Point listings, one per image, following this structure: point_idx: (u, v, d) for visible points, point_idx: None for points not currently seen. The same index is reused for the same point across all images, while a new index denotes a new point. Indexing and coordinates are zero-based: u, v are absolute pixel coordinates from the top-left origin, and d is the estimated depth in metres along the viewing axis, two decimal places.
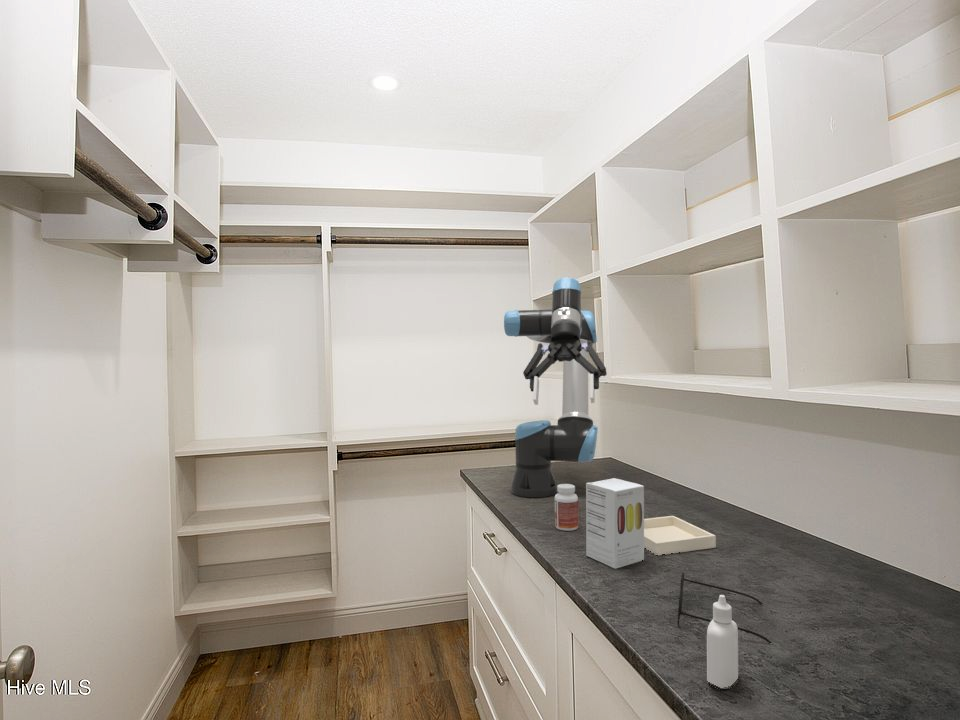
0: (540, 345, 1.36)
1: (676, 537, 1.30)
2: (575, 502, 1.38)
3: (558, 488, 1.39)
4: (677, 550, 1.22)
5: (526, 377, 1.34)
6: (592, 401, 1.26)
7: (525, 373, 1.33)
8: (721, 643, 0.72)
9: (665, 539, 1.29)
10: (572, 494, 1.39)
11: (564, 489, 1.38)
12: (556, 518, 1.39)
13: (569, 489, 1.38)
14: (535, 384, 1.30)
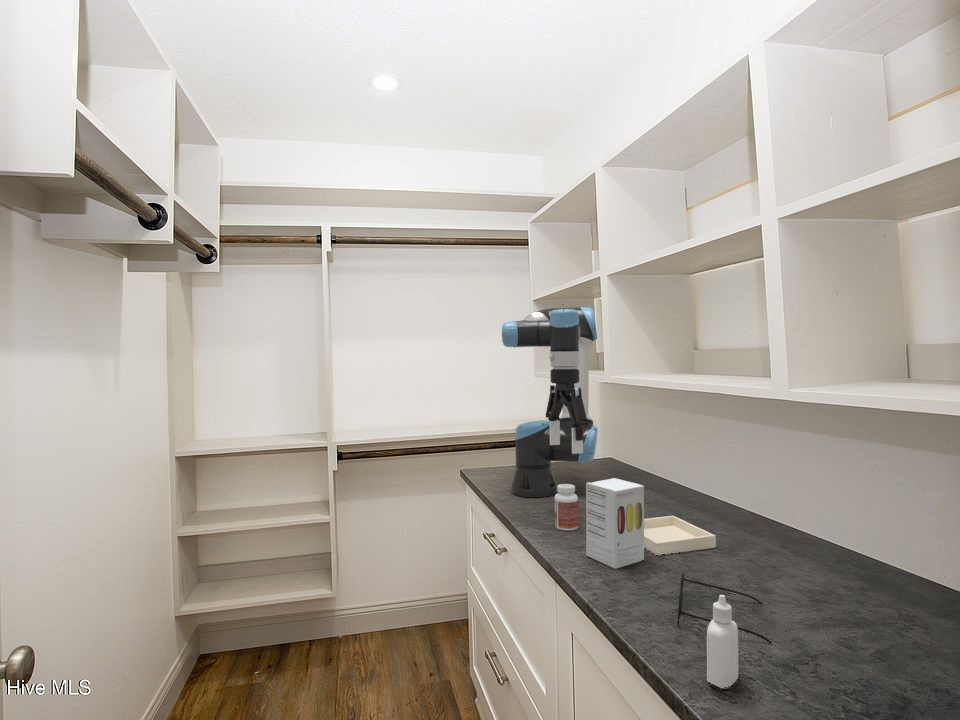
0: (550, 388, 1.45)
1: (676, 537, 1.30)
2: (575, 502, 1.38)
3: (558, 488, 1.39)
4: (677, 550, 1.22)
5: None
6: None
7: (546, 416, 1.49)
8: (721, 643, 0.72)
9: (665, 539, 1.29)
10: (572, 494, 1.39)
11: (564, 489, 1.38)
12: (556, 518, 1.39)
13: (569, 489, 1.38)
14: (550, 429, 1.46)
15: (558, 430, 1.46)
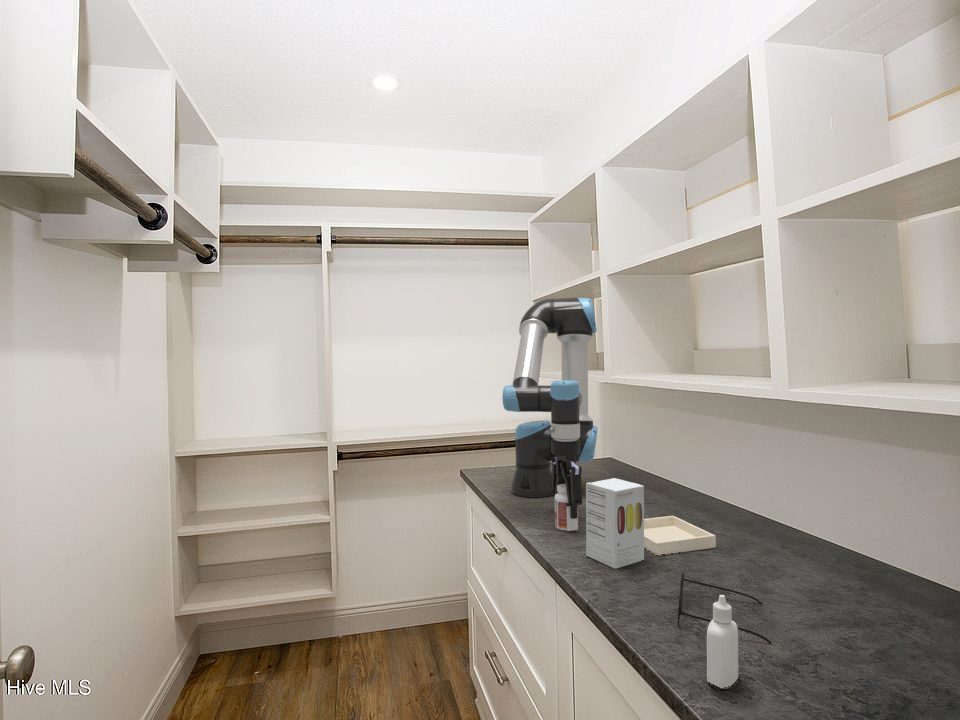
0: (552, 460, 1.46)
1: (676, 537, 1.30)
2: None
3: (558, 488, 1.39)
4: (677, 550, 1.22)
5: None
6: None
7: (552, 492, 1.46)
8: (721, 643, 0.72)
9: (665, 539, 1.29)
10: None
11: (564, 489, 1.38)
12: (556, 518, 1.39)
13: None
14: None
15: None
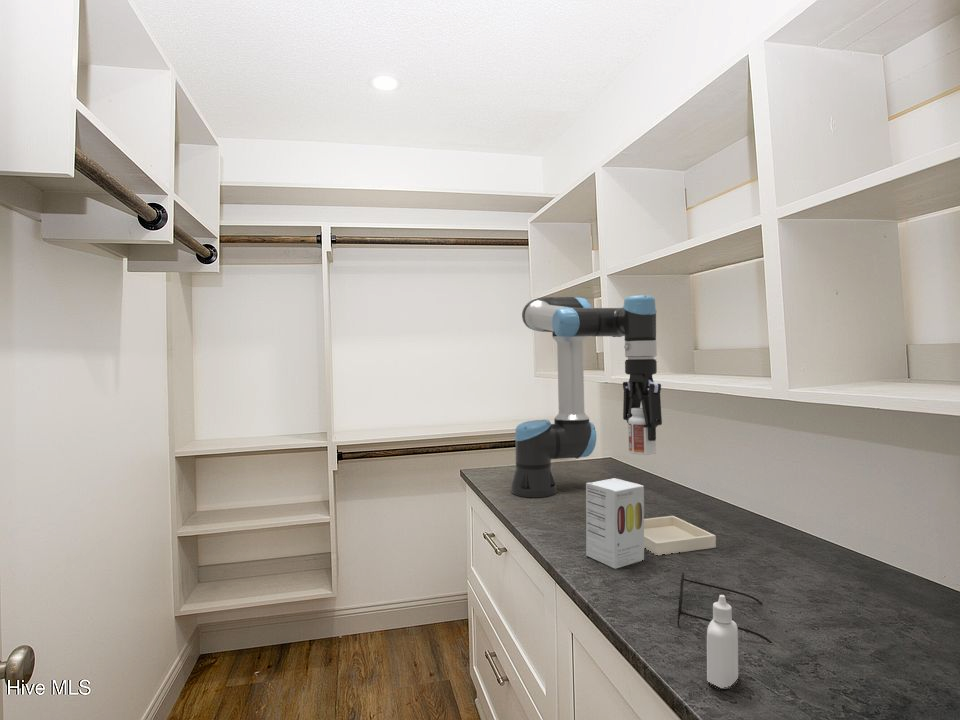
0: (624, 384, 1.37)
1: (676, 537, 1.30)
2: None
3: (633, 410, 1.31)
4: (677, 550, 1.22)
5: None
6: (652, 453, 1.28)
7: (624, 418, 1.37)
8: (721, 643, 0.72)
9: (665, 539, 1.29)
10: None
11: (640, 410, 1.29)
12: (631, 442, 1.31)
13: None
14: None
15: None
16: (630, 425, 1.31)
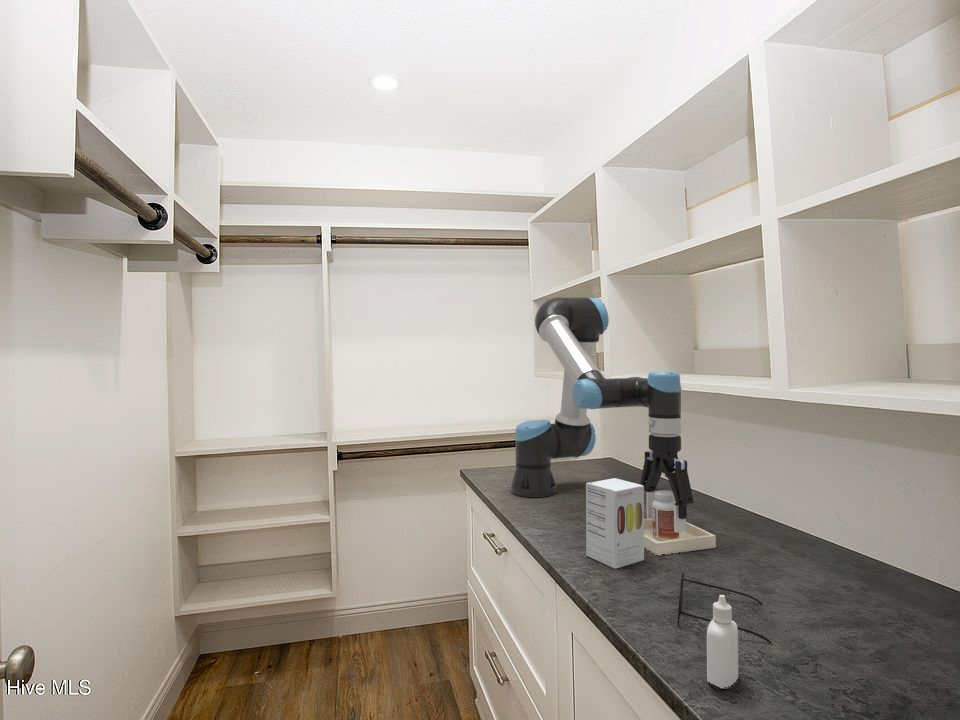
0: (646, 454, 1.35)
1: None
2: None
3: (657, 495, 1.29)
4: (677, 550, 1.22)
5: None
6: None
7: None
8: (721, 643, 0.72)
9: None
10: (673, 501, 1.28)
11: (665, 496, 1.28)
12: (655, 527, 1.29)
13: (670, 496, 1.28)
14: (647, 501, 1.35)
15: None
16: (654, 510, 1.29)
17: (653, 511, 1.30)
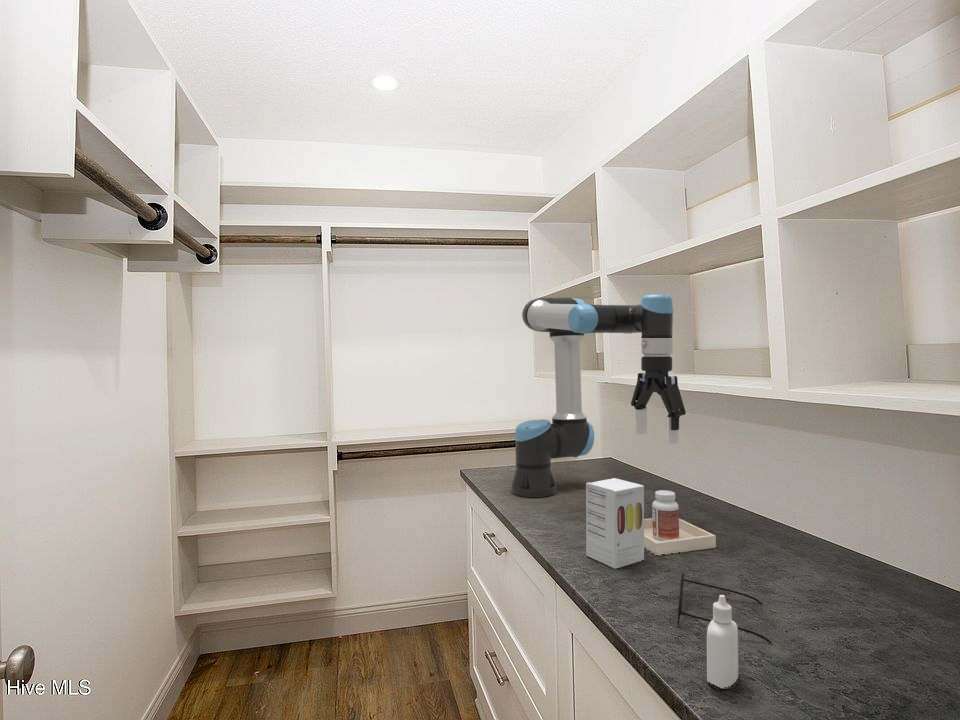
0: (638, 375, 1.41)
1: None
2: (677, 511, 1.28)
3: (657, 495, 1.29)
4: (677, 550, 1.22)
5: None
6: None
7: (632, 404, 1.45)
8: (721, 643, 0.72)
9: None
10: (673, 502, 1.28)
11: (665, 496, 1.28)
12: (655, 527, 1.29)
13: (670, 496, 1.28)
14: (637, 418, 1.42)
15: (645, 419, 1.43)
16: (654, 510, 1.29)
17: (653, 511, 1.30)
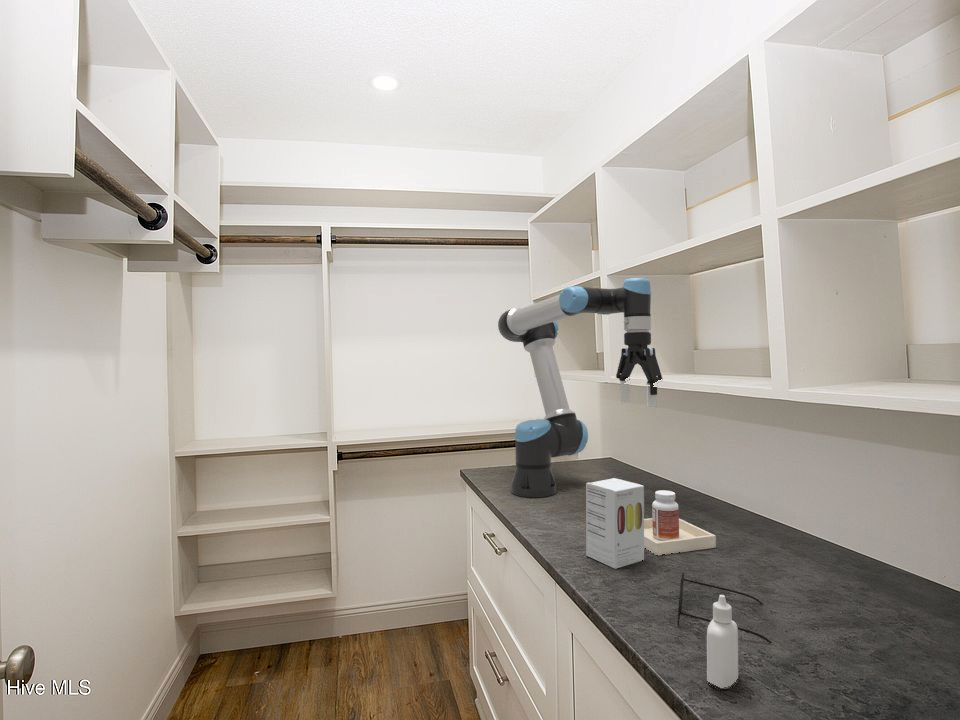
0: (622, 350, 1.60)
1: None
2: (677, 510, 1.28)
3: (657, 495, 1.29)
4: (677, 550, 1.22)
5: None
6: (653, 406, 1.49)
7: (617, 377, 1.64)
8: (721, 643, 0.72)
9: None
10: (673, 501, 1.28)
11: (665, 496, 1.28)
12: (655, 527, 1.29)
13: (670, 496, 1.28)
14: (621, 388, 1.61)
15: (628, 389, 1.61)
16: (654, 510, 1.29)
17: (653, 511, 1.30)
